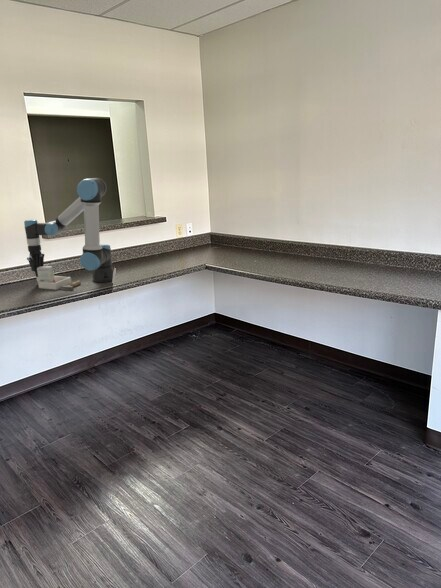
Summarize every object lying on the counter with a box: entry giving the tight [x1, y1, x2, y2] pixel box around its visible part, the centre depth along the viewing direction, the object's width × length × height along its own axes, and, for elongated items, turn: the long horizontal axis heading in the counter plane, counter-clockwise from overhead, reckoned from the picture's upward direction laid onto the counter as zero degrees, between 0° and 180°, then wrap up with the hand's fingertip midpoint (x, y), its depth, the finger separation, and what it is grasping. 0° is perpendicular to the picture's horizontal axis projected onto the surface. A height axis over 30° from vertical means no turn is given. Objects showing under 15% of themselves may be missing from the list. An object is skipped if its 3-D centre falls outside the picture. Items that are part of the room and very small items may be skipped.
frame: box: [37, 275, 73, 291], centre depth 278 cm, size 13×15×4 cm
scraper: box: [59, 280, 82, 291], centre depth 274 cm, size 13×8×2 cm, turn 159°
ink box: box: [37, 265, 56, 283], centre depth 279 cm, size 9×5×12 cm, turn 92°
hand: (39, 281), depth 282 cm, fingers closed
